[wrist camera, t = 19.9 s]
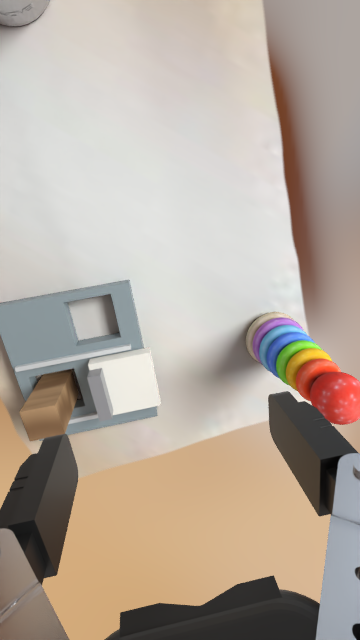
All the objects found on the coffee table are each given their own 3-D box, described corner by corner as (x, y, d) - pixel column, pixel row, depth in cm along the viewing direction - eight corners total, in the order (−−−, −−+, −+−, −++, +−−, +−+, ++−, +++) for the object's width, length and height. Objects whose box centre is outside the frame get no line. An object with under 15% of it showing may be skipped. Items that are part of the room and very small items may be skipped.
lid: (90, 358, 41) (85, 372, 37) (149, 347, 41) (150, 359, 38) (104, 409, 43) (101, 426, 40) (160, 398, 44) (162, 413, 40)
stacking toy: (235, 351, 46) (295, 433, 28) (259, 302, 44) (340, 357, 26) (279, 367, 48) (362, 454, 30) (304, 321, 46) (409, 384, 28)
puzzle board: (-3, 303, 40) (-13, 308, 37) (129, 279, 41) (128, 283, 38) (43, 431, 46) (38, 443, 43) (156, 407, 47) (157, 418, 45)
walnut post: (42, 374, 43) (19, 412, 35) (71, 369, 44) (55, 405, 35) (50, 399, 45) (30, 441, 36) (78, 393, 45) (64, 434, 36)
